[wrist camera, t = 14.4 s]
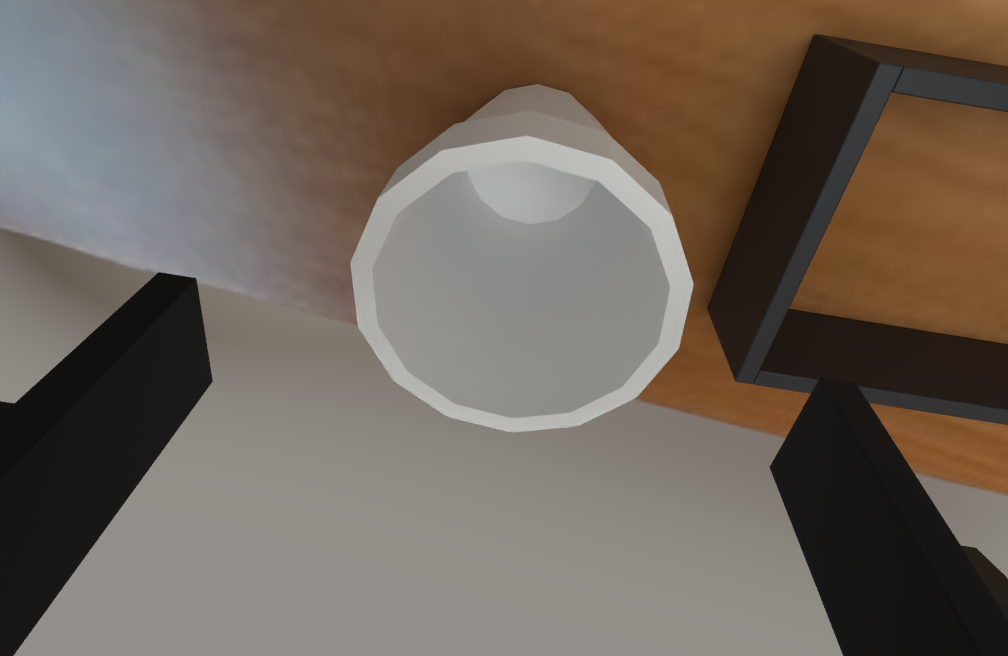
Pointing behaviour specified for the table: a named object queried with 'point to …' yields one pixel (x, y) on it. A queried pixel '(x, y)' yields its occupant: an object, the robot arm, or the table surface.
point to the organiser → (803, 221)
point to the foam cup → (522, 268)
